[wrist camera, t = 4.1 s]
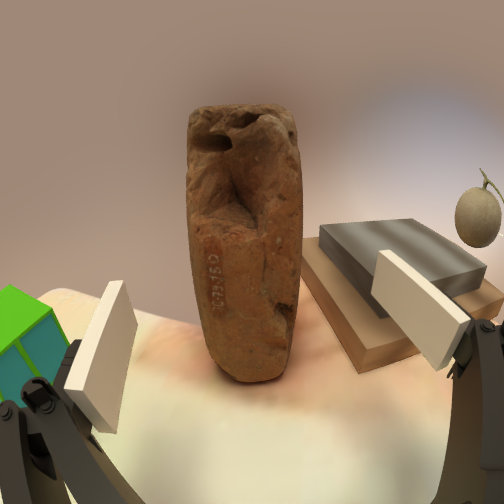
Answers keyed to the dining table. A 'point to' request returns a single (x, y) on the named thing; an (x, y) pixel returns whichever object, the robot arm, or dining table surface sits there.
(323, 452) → the dining table surface
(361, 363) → the tower base
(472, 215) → the fruit
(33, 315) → the toy car
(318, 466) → the dining table surface
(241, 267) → the block
